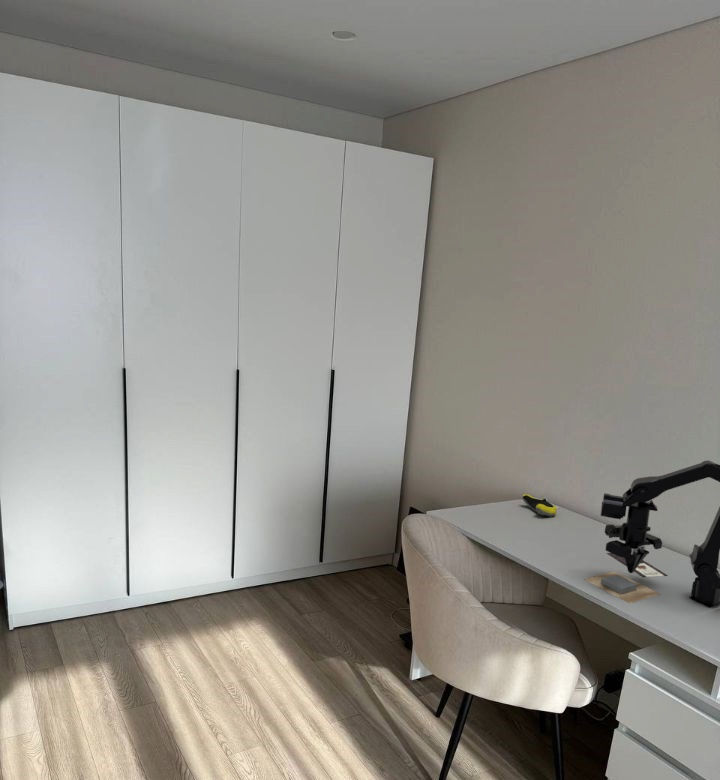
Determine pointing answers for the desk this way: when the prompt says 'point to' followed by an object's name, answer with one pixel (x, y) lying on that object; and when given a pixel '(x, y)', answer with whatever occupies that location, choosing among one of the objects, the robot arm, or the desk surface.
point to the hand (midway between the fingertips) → (630, 572)
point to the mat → (630, 596)
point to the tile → (619, 584)
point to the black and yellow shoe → (540, 505)
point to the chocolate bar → (641, 567)
